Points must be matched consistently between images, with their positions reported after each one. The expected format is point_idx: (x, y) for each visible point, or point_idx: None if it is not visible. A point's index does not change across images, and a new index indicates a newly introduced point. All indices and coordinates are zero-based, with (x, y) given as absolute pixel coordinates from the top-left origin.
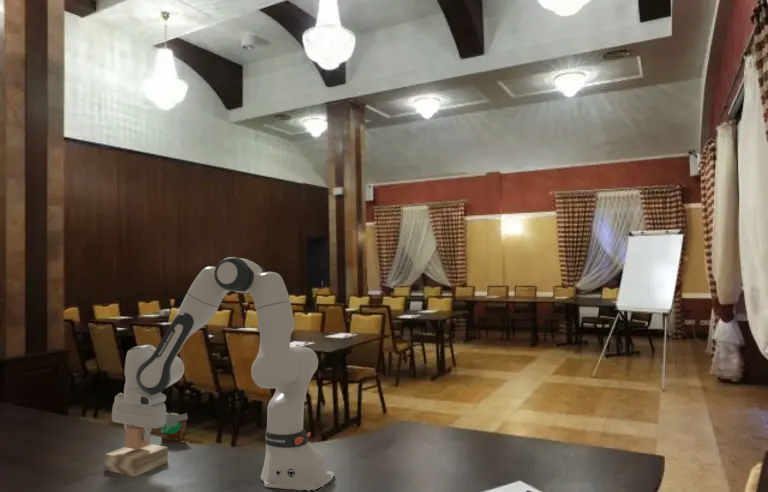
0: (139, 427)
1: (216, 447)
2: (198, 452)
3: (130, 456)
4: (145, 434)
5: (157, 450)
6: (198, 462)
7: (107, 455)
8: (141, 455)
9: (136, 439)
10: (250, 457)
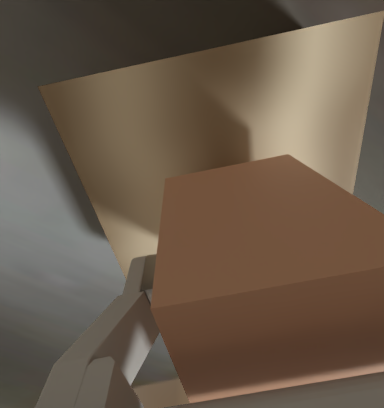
0: (260, 365)
1: (152, 374)
2: (156, 340)
3: (150, 108)
4: (108, 306)
5: (128, 261)
6: (66, 306)
7: (349, 18)
8: (111, 167)
9: (173, 215)
10: (4, 383)
